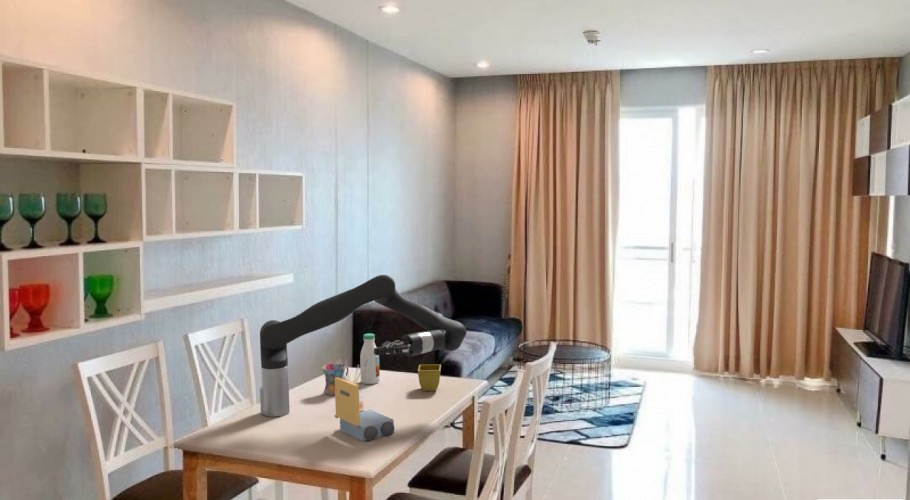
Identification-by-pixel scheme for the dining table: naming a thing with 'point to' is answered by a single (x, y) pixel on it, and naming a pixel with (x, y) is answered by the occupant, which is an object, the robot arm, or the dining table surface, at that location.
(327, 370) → the mug
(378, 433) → the flatbed
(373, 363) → the milk bottle
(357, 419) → the yellow plate
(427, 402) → the dining table surface
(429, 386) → the flower pot
